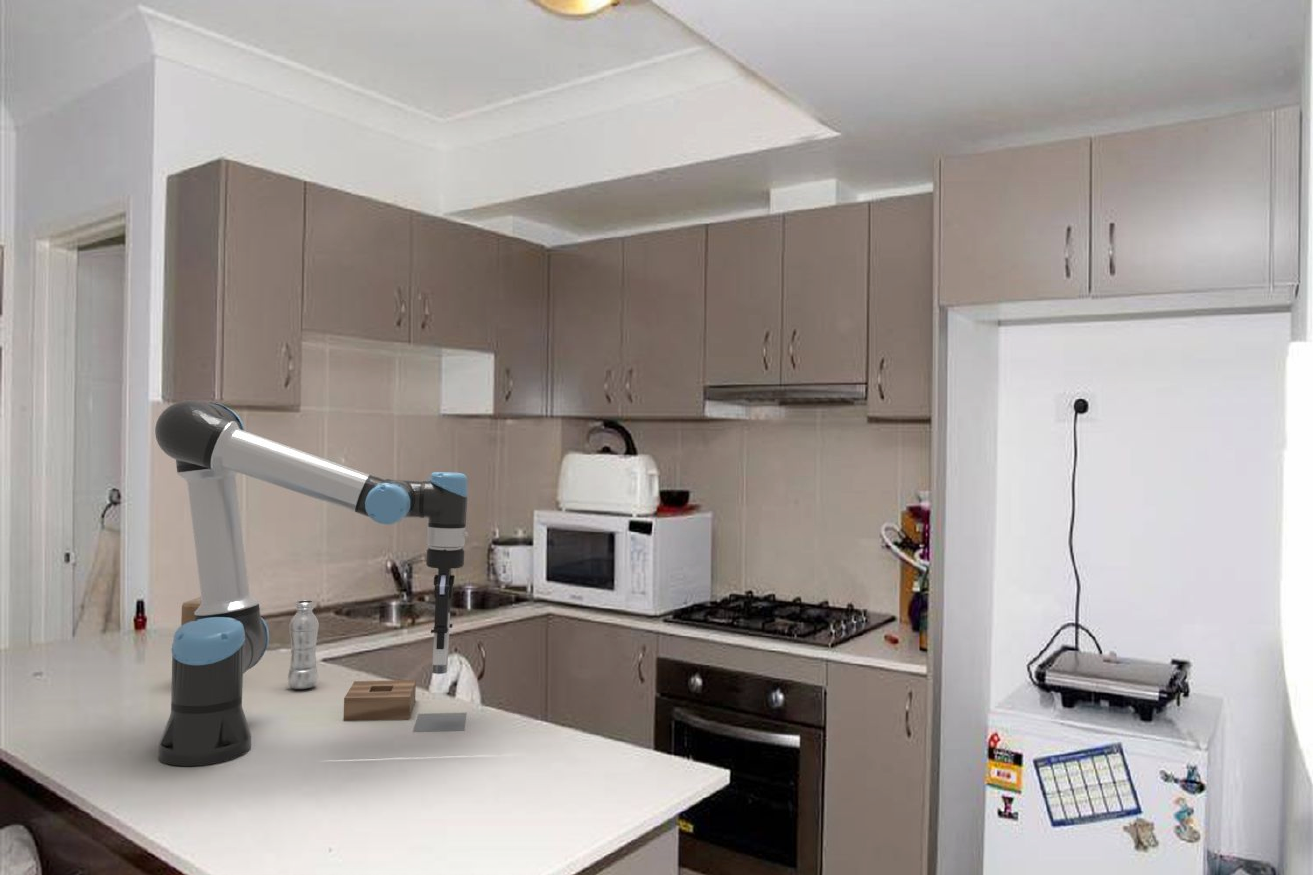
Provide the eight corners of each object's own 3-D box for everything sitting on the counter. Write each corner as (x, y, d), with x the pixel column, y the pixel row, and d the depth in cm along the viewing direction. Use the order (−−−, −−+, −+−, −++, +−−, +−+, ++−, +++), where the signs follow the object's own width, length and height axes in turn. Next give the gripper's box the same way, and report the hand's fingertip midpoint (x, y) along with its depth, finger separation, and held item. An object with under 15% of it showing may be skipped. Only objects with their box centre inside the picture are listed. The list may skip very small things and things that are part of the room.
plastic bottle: (322, 685, 209) (325, 599, 209) (308, 693, 202) (311, 604, 202) (296, 683, 210) (299, 598, 210) (281, 691, 203) (284, 603, 203)
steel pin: (446, 673, 182) (449, 614, 182) (431, 673, 181) (434, 614, 181) (447, 670, 185) (450, 611, 185) (432, 669, 184) (435, 611, 184)
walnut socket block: (409, 720, 184) (409, 696, 184) (343, 722, 182) (344, 697, 182) (415, 702, 197) (415, 679, 197) (353, 703, 195) (354, 681, 195)
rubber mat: (464, 732, 178) (464, 730, 178) (412, 733, 176) (412, 731, 176) (466, 714, 190) (466, 712, 190) (418, 715, 188) (418, 713, 188)
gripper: (462, 552, 176) (456, 672, 176) (466, 543, 192) (460, 653, 191) (423, 551, 175) (417, 671, 175) (430, 542, 190) (424, 653, 190)
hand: (440, 662), depth 183 cm, fingers closed on steel pin, 3 cm apart
